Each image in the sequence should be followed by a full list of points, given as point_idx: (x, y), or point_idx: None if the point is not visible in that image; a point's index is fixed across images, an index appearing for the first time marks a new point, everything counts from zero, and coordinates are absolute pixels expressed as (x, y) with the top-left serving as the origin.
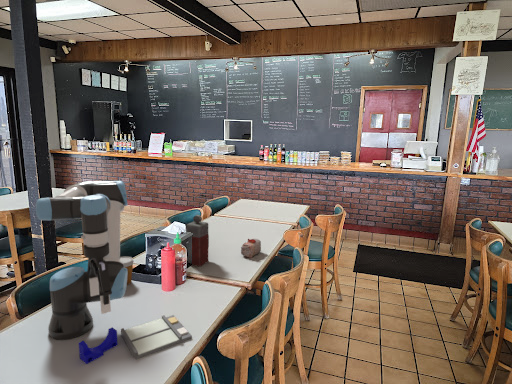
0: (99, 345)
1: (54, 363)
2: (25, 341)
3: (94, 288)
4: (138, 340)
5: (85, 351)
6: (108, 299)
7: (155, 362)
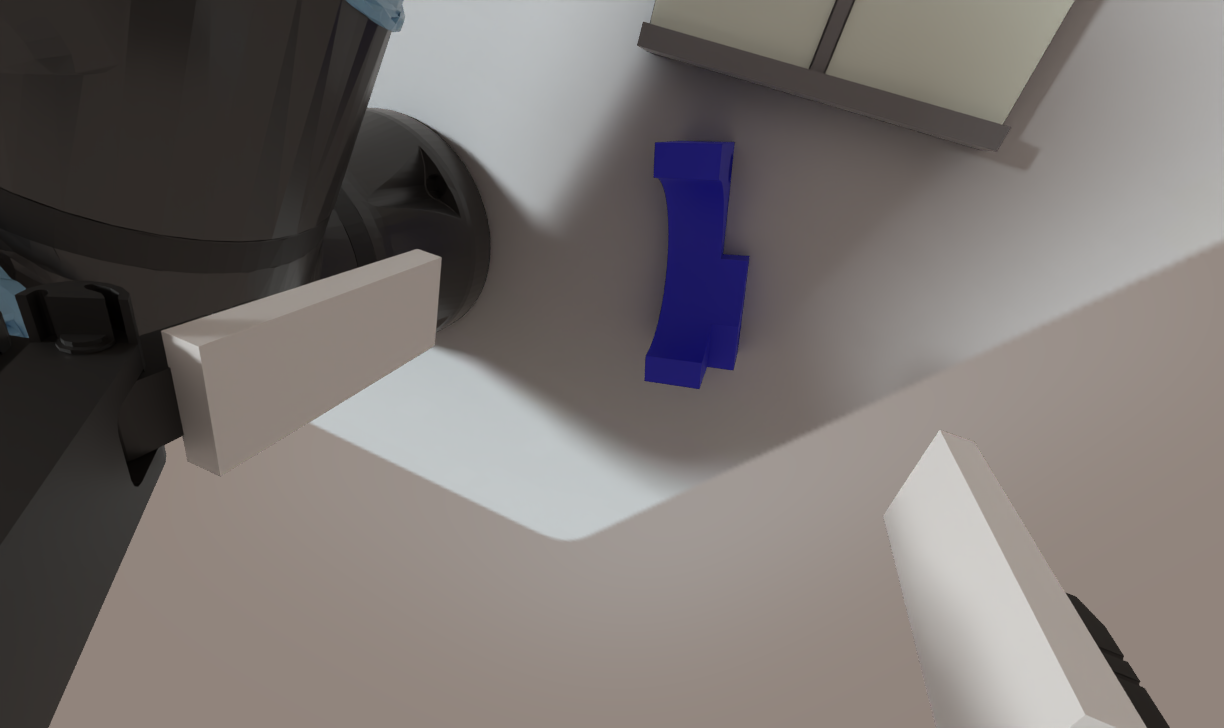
0: (674, 242)
1: (611, 421)
2: (384, 400)
3: (369, 338)
4: (861, 14)
5: (706, 360)
6: (1137, 695)
7: (1185, 64)
